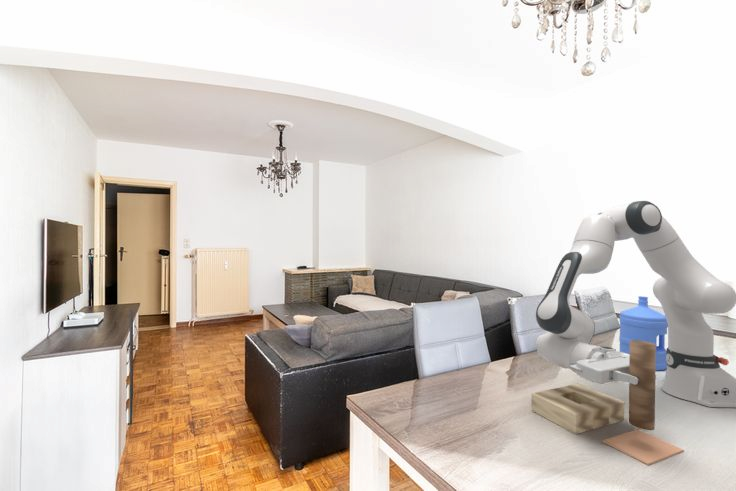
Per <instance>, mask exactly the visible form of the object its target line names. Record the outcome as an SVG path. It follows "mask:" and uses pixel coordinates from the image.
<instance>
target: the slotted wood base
mask: <svg viewBox="0 0 736 491" xmlns="http://www.w3.org/2000/svg"><path fill="white" fill-rule="evenodd" d="M625 404H626V402H625V401H624V400H621V399H618V398H616V397H613V396H611V395H607V394H606V393H603V392H600V391H598V390H595V389H593V388H591V387H588V386H586V385H583V384H580V383H575V384H571V385H570V384H569V385H565V386H560V387H556V388H555V387H554V388H552V389H547V390H542V391H537V392H532V393H531V411H532V412H534V413H535V412H536V414H538V415H539V416H541V417H543V418H545V419H547V420H548V421H551V422H552V423H554V424H556V425H557V426H560V428H561V427H562V428H564V429H565V430H566V431H569V432H571V433H573V434H575V435H578V434H581V433H584V432H588V431H591V430H594V429H595V430H596V429H598V428H602V427H605V426H608V425H613V424H615V423H618V422H622V421H625V418H626V416H625V414H626V413H625V412H626V406H625Z"/></svg>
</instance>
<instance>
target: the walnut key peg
mask: <svg viewBox="0 0 736 491" xmlns="http://www.w3.org/2000/svg"><path fill="white" fill-rule="evenodd" d="M655 363H656V345H655V344H654V343H651V342H646V341H639V340H631V341H630V357H629V375H635V376H638V377H640V383H639V384H636V385H634V384H631V383H628V423H629V424H630V425H631V426H632V427H634V428H637V429H639V430H643V431H654V430H655V428H656V426H655V425H656V421H655V420H656V418H655V417H656V414H655V413H656V380H655V374H656V370H655Z"/></svg>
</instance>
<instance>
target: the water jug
mask: <svg viewBox="0 0 736 491" xmlns="http://www.w3.org/2000/svg"><path fill="white" fill-rule="evenodd" d="M648 299H649V297H648V296H638V300H637V302H638V305H637V306H636V307H632V308H629V309H624V310H621V311H620V312H619V336H618V337H619V352H623V353H627V354H630V341H631V340H639V341H646V342H651V343H654V344H655V345H656V363H655V371H663V370H664V371H665V370H667V363H666V350H667V348H666V347H665V346H666V345H665V340H666V337H665V336H666V335H668V324H667V320H666V316H665V314H663V313H660V312H659V311H657V310H654V309H652V308H650V307H649V305H648V304H649V300H648ZM657 340H658V345H657Z"/></svg>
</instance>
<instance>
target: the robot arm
mask: <svg viewBox="0 0 736 491" xmlns="http://www.w3.org/2000/svg"><path fill="white" fill-rule="evenodd" d="M629 239H633V240H634V242H635V244H636V246H637V248H638V249H639V251H640V253H641V254H642V256H643V257H644V259H645V261H646V262H647V263H648V266H649V267H650V268H651V270H652V271H654V272H655V273H656V275H657V274H658V275H659V276H660V277H659V278H657V280H655V282H654V283H653V286H652V292H653V295H654V297H655V298H656V299H657V300H658V302H659V303H660V305H661V308H662V309H663V313H664V315H665V316H666V320H667V324H668V326H667V340H668V341H667V342H668V343H667V344H668V345H667V347H666V363H667V368H666V369H665V370H666V371H665V374H664V375H665V376H664V378H663V379H664V380H663V383H662V386H661V390H662V391H663V392H665V393H666V394H668V395H671V396H672V397H673V396H674V397H676V398H679V399H680V400H681V399H682V400H685V401H688V402H692V403H693V402H694V403H697V404H700V405H703V406H704V407H710V408H736V377H734V376H733V375H732V374H730V373H729V372H727V370H725V369H723V368H722V367H721V366H720V364H721V365H723V366H728V365H729V364H730V361H729V360H728V359H727V358H725V357H719V356H717V355H715V354H714V346H715V345H714V340H715V339H714V335H715V334H714V333H715V332H714V331H713V329H712V328H711V326H710V325H709V324H708V323H707V321H706V319H705V318H704V315H703V314H707V315H709V314H711V315H713V314H714V315H716V314H722V315H723V314H726V313H728V312H730V311H732V310H733V309H734V308H735V306H736V291H735V290H734V288H733V287H732V286H731V285H729V284H727V283H725V282H724V281H722V280H720V279H718V278H717V277H716V276H715V275H713V274H712V272H710V271H709V270H708V269H706V268H705V267H704V266H703V265H702V264H701V263H700V262H699V261H698V260H697V259H696V258H695V257H694V256H693V255H692V254H691V252H690V251H689V249H688V247H687V246H686V244H684V242H683V240H682V239H681V237H680V236H679V234H678V233H677V231H676V229H675V228H673V225H671V224H670V222H669V221H668V220H667V219H666V218H665V217H664V216H663V215H662V212H661V210H660V208H659V207H658V206H657V205H655V204H654V203H653V202H651V201H648V200H636V201H633V202H631V203H627V204H621V205H618V206H615V207H613V208H611V209H608V210H606V211H603V212H599V213H595V214H590V215H588V216H586V217H584V218H583V219H582V221H581V223H580V224H579V226H578V228H577V231H576V233H575V235H574V239H573V242H572V246H571V248H570V250H569V252H568V253H566V254H565V255H564V256H562V258H561V260H559V263H558V265H557V267H556V270H555V272H554V274H553V277H552V279H551V281H550V284H549V286H548V288H547V291H546V292H545V295H544V297H543V298H542V300H541V301H540V302H539V304H538V306H537V308H536V311H535V319H536V322H537V324H538V326H539V327H540V328H541V329H542V330H544V331H546V332H544V333H542V334H540V335H539V336H538V337H537V339H536V342H535V347H536V348H535V349H536V350H537V353H538V355H539V356H540V358H542V359H543V360H545V361H546V362H547V363H550V364H552V365H555V366H557V367H560V368H561V369H569V370H571V372H574V373H576V375H577V376H579V377H580V378H583V379H584V380H587V381H590V382H592V383H594V384H597V385H598V384H599V385H604V384H607V383H612V382H622V383H628V384H629V383H631V384H634V385H636V384H639V383H640V377H638V376H635V375H629V357H630V354H627V353H623V352H620V350H617V348H615V347H613V346H602V345H601V346H598V345H595V344H591V341H592V339H593V337H594V334H595V332H596V323H595V322H594V320H593V318H592V317H591V316H590V315H588V314H587V313H585V312H583V311H582V310H580V309H577V308H575V307H574V306H572V305H571V301H570V297H571V295H572V292H573V290H574V287H575V284H576V282H577V279H578V278H579V276H581V275H582V274H583V275H584V274H585V275H589V274H590V275H591V274H593V275H594V274H598V273H601V272H603V271H605V270H606V269H607V268H608V267H609V265H610V263H611V260H612V257H613V253H614V248H615V242H618V241H625V240H629ZM656 380H657V374H656V373H655V381H656Z"/></svg>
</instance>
